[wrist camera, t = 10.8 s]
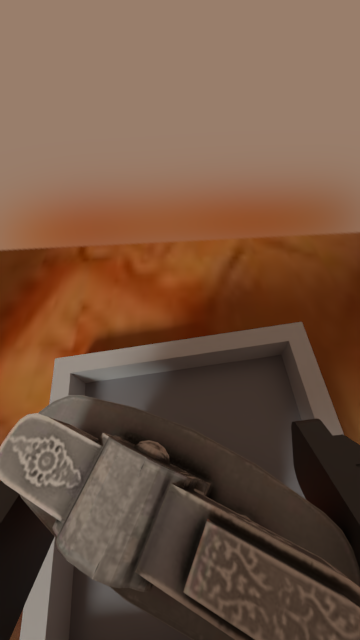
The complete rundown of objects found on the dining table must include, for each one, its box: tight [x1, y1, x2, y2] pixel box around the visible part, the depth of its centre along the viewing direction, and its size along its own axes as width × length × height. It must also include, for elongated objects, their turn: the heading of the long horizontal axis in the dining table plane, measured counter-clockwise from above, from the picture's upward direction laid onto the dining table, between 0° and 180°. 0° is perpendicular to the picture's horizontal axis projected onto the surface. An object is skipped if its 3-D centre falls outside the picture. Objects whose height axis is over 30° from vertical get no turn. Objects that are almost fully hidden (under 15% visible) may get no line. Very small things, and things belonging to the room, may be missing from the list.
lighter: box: [0, 395, 360, 640], centre depth 8 cm, size 8×3×10 cm, turn 66°
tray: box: [20, 322, 344, 640], centre depth 13 cm, size 15×15×2 cm
